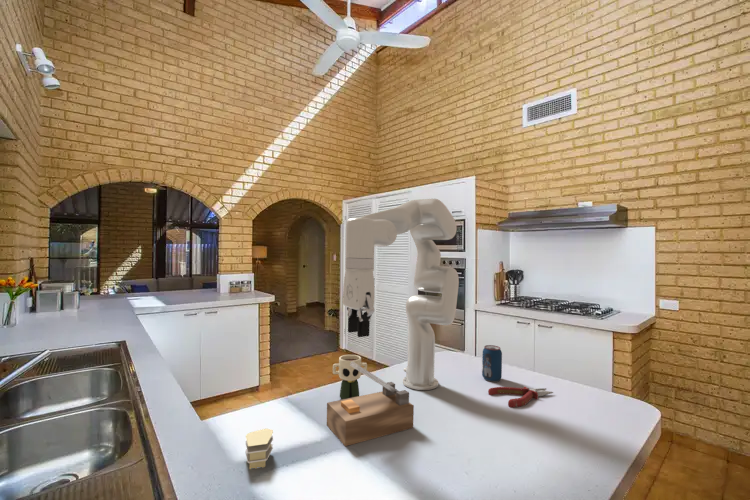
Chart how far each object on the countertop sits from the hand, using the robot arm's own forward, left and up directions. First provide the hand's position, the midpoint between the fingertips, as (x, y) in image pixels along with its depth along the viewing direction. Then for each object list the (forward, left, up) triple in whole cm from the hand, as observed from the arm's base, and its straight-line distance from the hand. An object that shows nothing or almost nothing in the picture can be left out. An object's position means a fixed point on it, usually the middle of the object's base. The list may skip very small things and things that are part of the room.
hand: (358, 333), depth 96 cm
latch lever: (0, +5, -13) cm, 14 cm away
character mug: (-19, +7, -26) cm, 33 cm away
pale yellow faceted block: (+2, -25, -26) cm, 36 cm away
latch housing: (0, +4, -25) cm, 26 cm away
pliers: (+7, +58, -26) cm, 64 cm away
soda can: (-11, +62, -26) cm, 68 cm away
